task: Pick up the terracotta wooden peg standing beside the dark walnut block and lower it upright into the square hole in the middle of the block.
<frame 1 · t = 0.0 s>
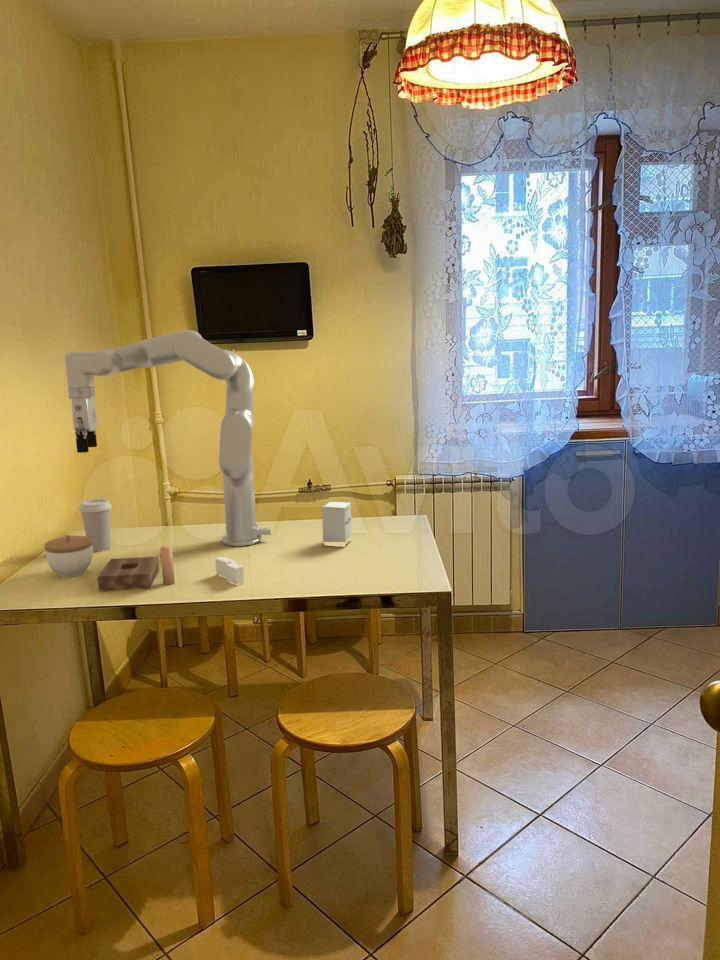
hand: (87, 449, 229), 31 cm above the table, tool pointing down, fingers open, 9 cm apart
supplement box: (337, 544, 234), on the table
lidded bowl: (72, 573, 212), on the table
coffee cup: (99, 549, 235), on the table
hole block: (130, 580, 205), on the table
napkin holder: (229, 582, 203), on the table
peg: (168, 583, 201), on the table
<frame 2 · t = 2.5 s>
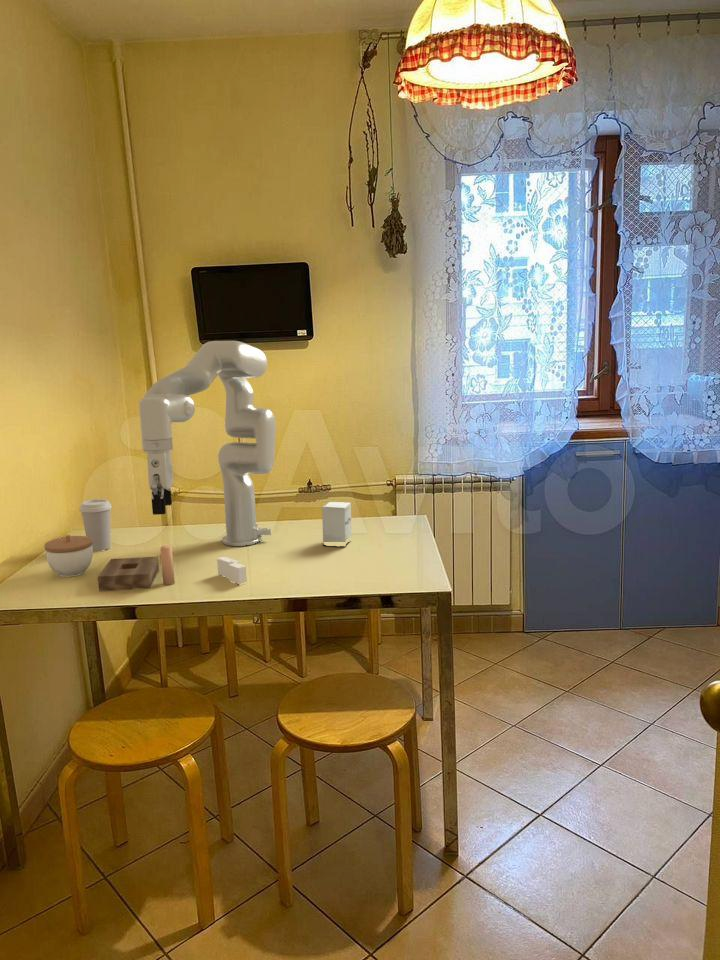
hand: (162, 509, 197), 20 cm above the table, tool pointing down, fingers open, 9 cm apart
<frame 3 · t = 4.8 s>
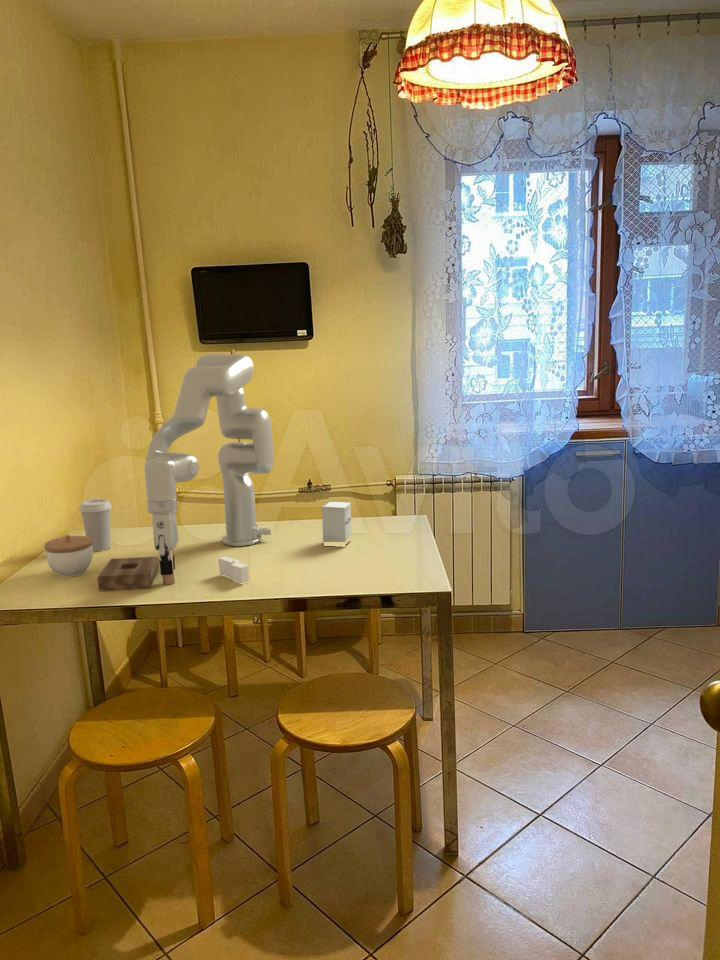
hand: (167, 571, 201), 3 cm above the table, tool pointing down, fingers closed on peg, 3 cm apart
peg: (168, 583, 201), on the table, touching gripper
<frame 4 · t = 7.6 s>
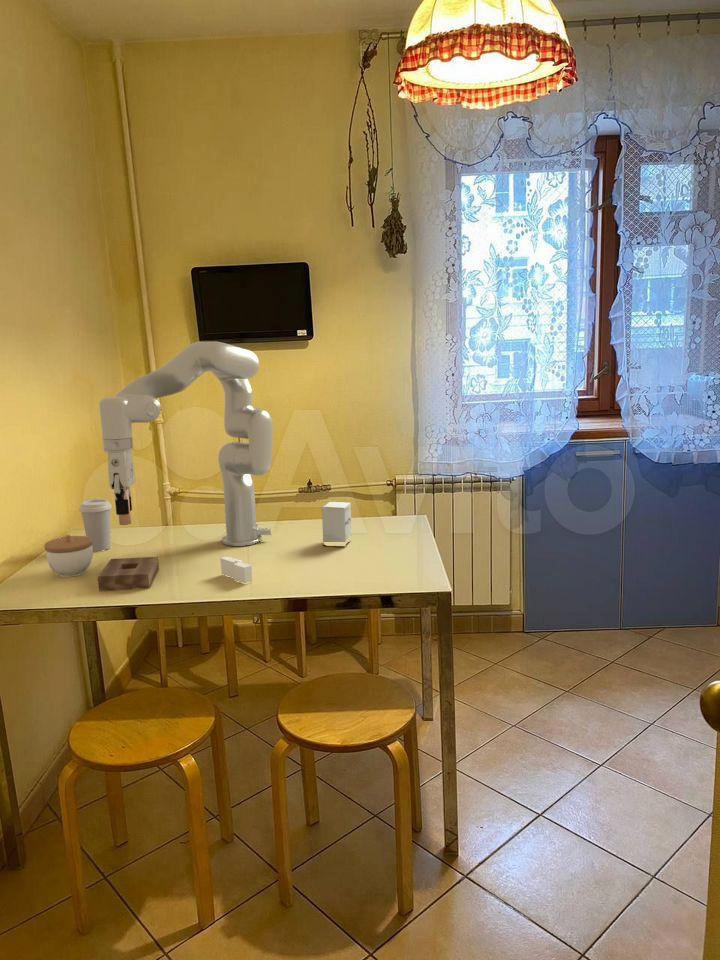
hand: (124, 512, 201), 19 cm above the table, tool pointing down, fingers closed on peg, 3 cm apart
peg: (125, 523, 201), point 16 cm above the table, touching gripper
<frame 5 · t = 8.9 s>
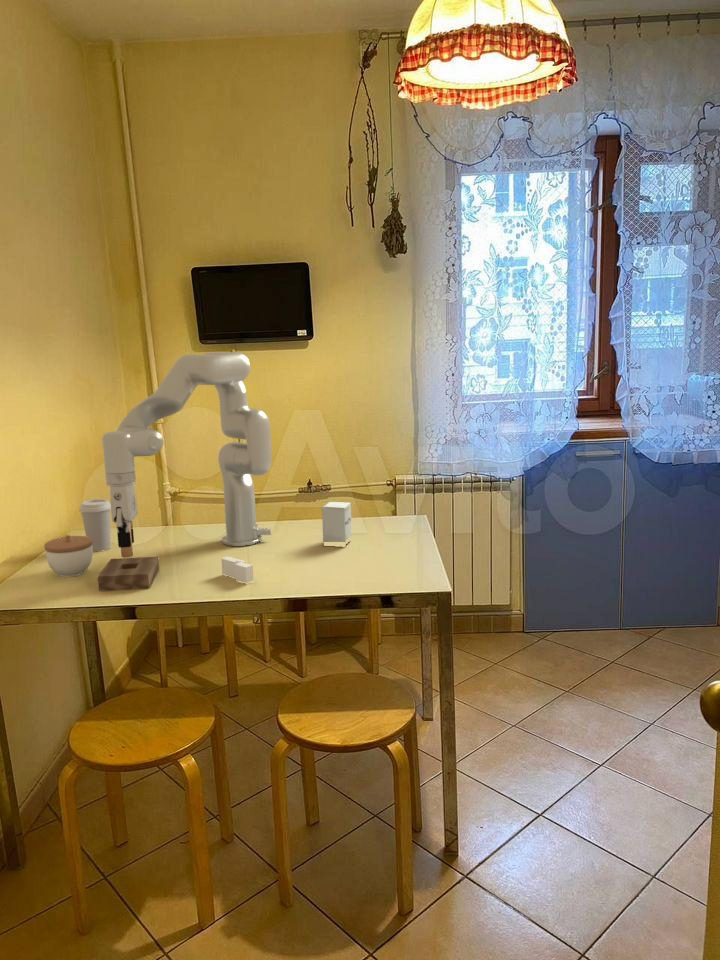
hand: (126, 544, 202), 10 cm above the table, tool pointing down, fingers closed on peg, 3 cm apart
peg: (127, 555, 203), point 7 cm above the table, touching gripper
when the fingers open (6 cm above the table, at t = 10.2 s): peg drops 2 cm, resting in hole block.
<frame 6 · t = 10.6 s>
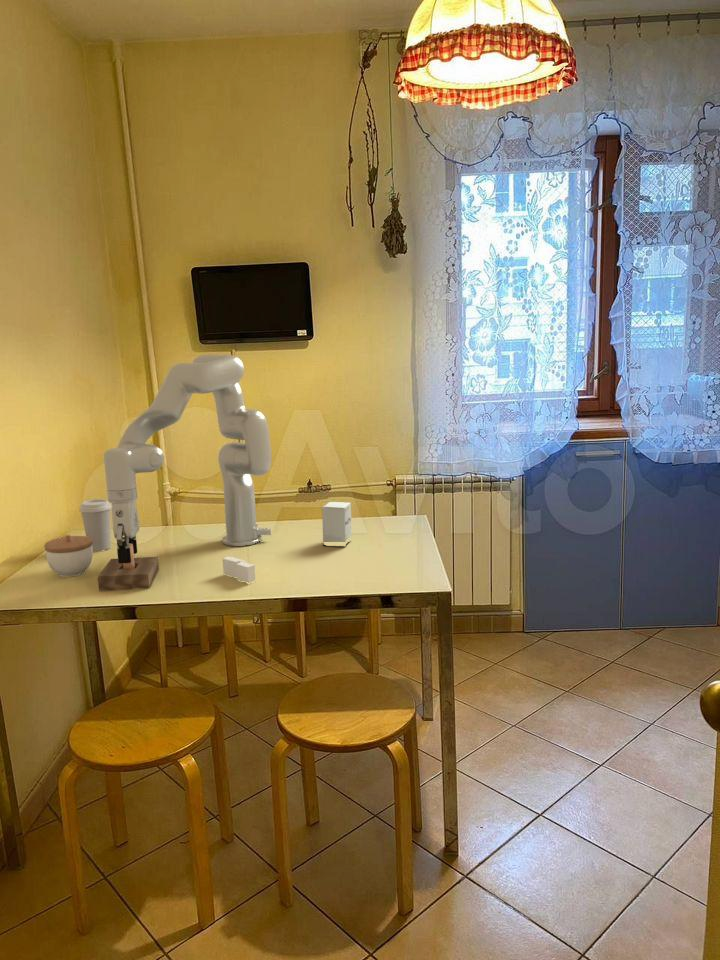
hand: (128, 557, 203), 6 cm above the table, tool pointing down, fingers open, 7 cm apart
peg: (130, 580, 205), resting in hole block
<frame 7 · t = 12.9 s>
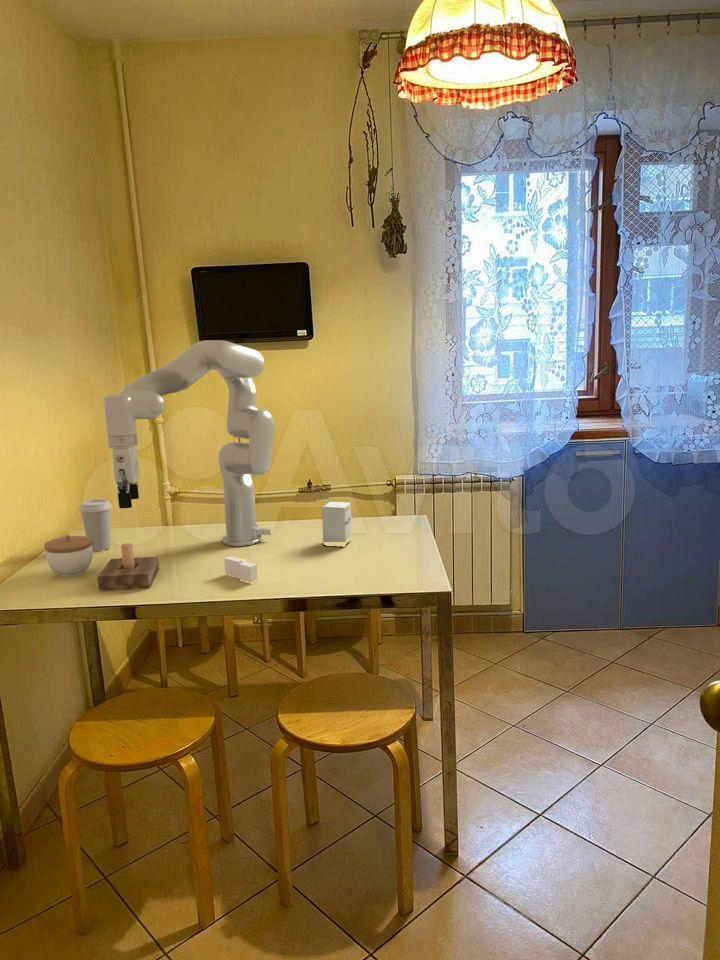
hand: (129, 503, 203), 21 cm above the table, tool pointing down, fingers open, 9 cm apart
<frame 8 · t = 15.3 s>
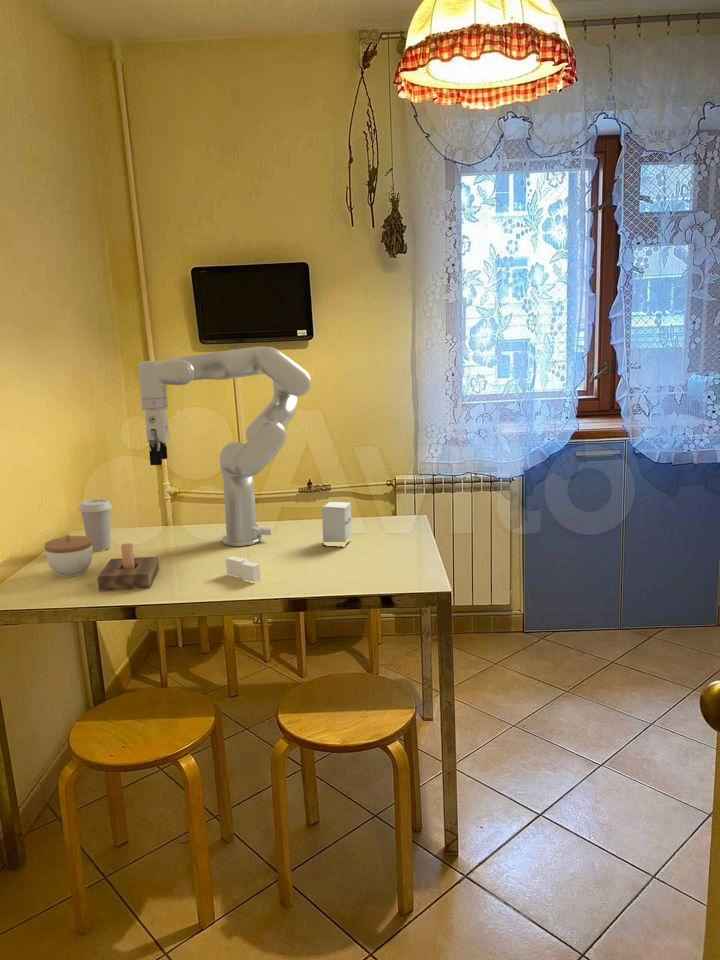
hand: (159, 461, 222), 28 cm above the table, tool pointing down, fingers open, 9 cm apart
at the end: peg 0.0 cm off-centre on the hole block, point 0.0 cm above the hole block's base; peg tilted 0°; the gripper is holding nothing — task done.
